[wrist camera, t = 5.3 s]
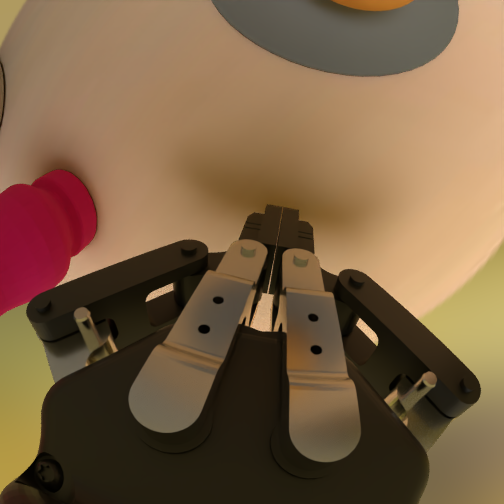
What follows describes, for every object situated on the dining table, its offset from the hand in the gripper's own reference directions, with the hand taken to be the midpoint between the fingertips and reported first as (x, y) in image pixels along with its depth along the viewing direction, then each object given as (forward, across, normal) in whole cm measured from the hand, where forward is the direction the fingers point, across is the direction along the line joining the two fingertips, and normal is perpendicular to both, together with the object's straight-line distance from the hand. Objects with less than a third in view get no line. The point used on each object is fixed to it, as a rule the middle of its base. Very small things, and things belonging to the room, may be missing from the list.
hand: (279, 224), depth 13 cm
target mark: (+2, -1, -14) cm, 14 cm away
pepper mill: (+2, +15, +2) cm, 15 cm away
